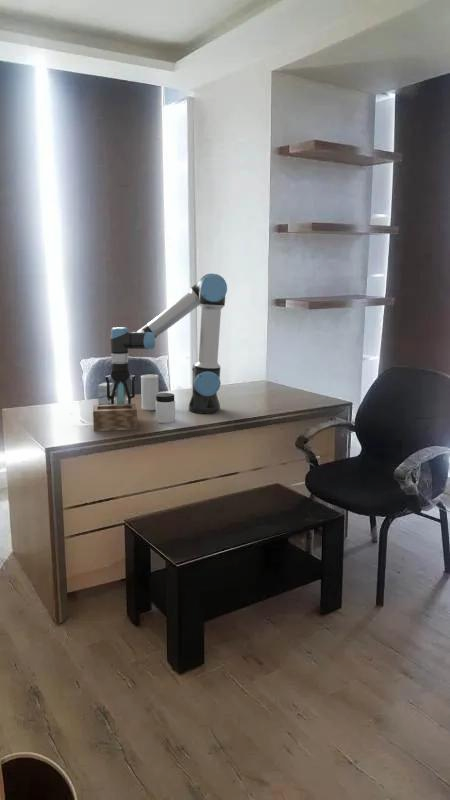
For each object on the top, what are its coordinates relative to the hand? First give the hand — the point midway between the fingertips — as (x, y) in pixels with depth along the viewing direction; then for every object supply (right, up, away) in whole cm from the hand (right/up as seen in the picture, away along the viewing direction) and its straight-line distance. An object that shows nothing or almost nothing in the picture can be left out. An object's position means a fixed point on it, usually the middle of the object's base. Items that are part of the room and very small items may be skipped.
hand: (121, 412), depth 279 cm
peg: (0, -2, 0) cm, 2 cm away
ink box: (-10, +2, +19) cm, 22 cm away
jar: (+20, -4, -4) cm, 21 cm away
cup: (+11, +2, +20) cm, 23 cm away
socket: (0, -6, -15) cm, 16 cm away
